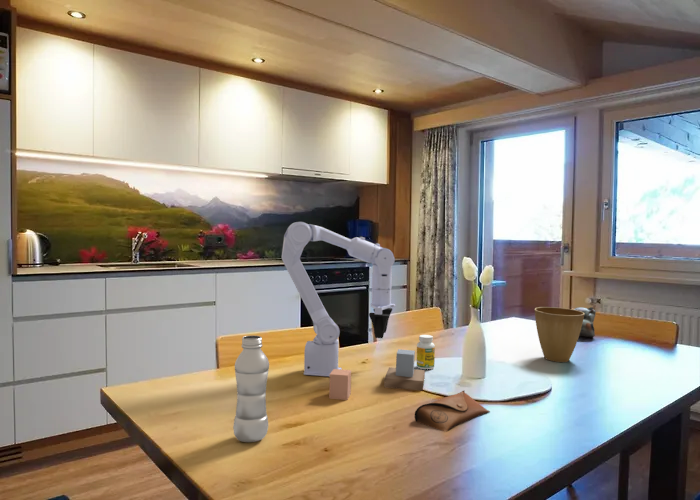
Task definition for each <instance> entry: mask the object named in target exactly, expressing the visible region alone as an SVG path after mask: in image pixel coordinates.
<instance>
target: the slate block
mask: <svg viewBox="0 0 700 500" xmlns="http://www.w3.org/2000/svg"><path fill="white" fill-rule="evenodd" d="M415 356H416V351H415V350H410V349H399V348H398V349H397V351H396V356H395V357H396V358H395V359H396V360H395V361H396V362H395V364H396V365H395V368H396V376H405V377H413V374H414V369H415Z"/></svg>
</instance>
